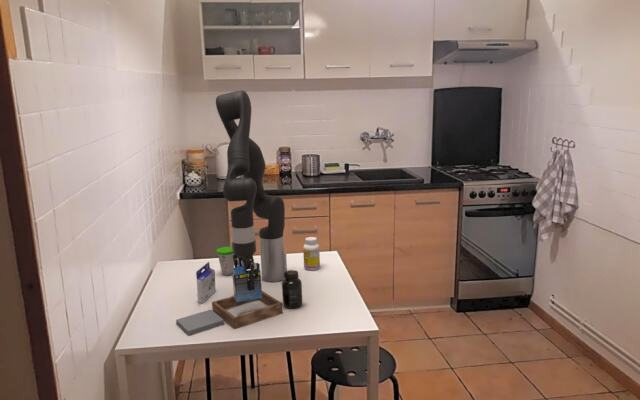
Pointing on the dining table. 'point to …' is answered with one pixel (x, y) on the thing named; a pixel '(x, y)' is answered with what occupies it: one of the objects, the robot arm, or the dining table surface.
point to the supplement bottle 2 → (311, 254)
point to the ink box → (205, 283)
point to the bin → (250, 317)
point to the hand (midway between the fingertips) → (247, 287)
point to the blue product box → (245, 286)
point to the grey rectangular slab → (199, 322)
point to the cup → (226, 260)
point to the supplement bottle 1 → (292, 290)
